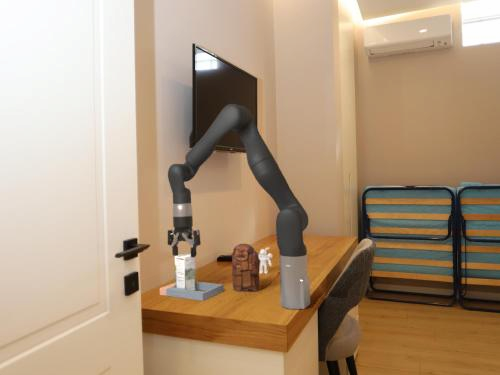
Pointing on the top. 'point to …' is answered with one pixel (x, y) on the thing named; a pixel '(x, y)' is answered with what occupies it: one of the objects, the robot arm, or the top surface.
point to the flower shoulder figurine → (264, 260)
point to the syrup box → (185, 272)
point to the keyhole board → (209, 290)
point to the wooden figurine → (245, 268)
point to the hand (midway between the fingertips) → (184, 256)
